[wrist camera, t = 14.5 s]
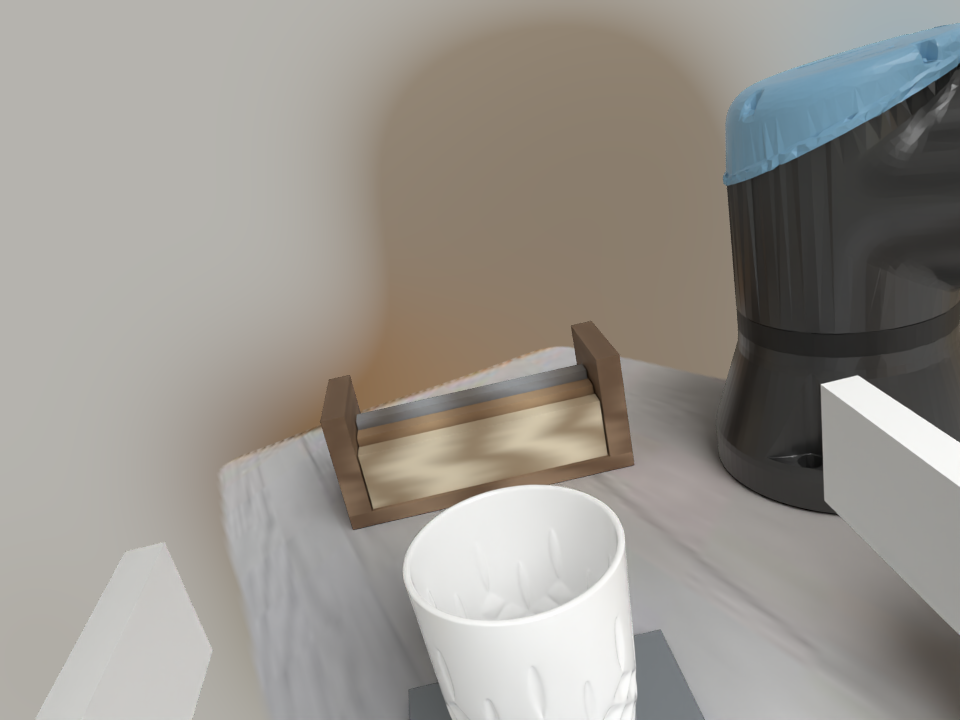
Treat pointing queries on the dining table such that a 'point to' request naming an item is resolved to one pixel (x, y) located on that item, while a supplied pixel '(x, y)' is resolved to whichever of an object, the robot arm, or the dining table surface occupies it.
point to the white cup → (526, 606)
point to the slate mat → (660, 683)
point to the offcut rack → (480, 436)
